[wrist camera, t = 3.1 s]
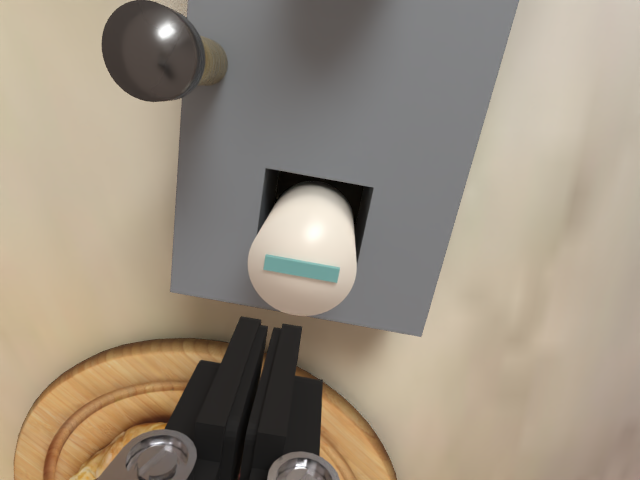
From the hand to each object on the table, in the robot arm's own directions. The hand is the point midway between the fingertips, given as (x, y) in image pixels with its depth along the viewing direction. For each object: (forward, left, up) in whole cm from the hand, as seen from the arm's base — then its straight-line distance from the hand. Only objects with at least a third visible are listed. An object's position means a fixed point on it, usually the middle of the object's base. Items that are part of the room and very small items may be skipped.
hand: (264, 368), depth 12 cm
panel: (0, -7, -17) cm, 19 cm away
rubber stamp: (+6, -7, -11) cm, 15 cm away
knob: (0, 0, -13) cm, 13 cm away
